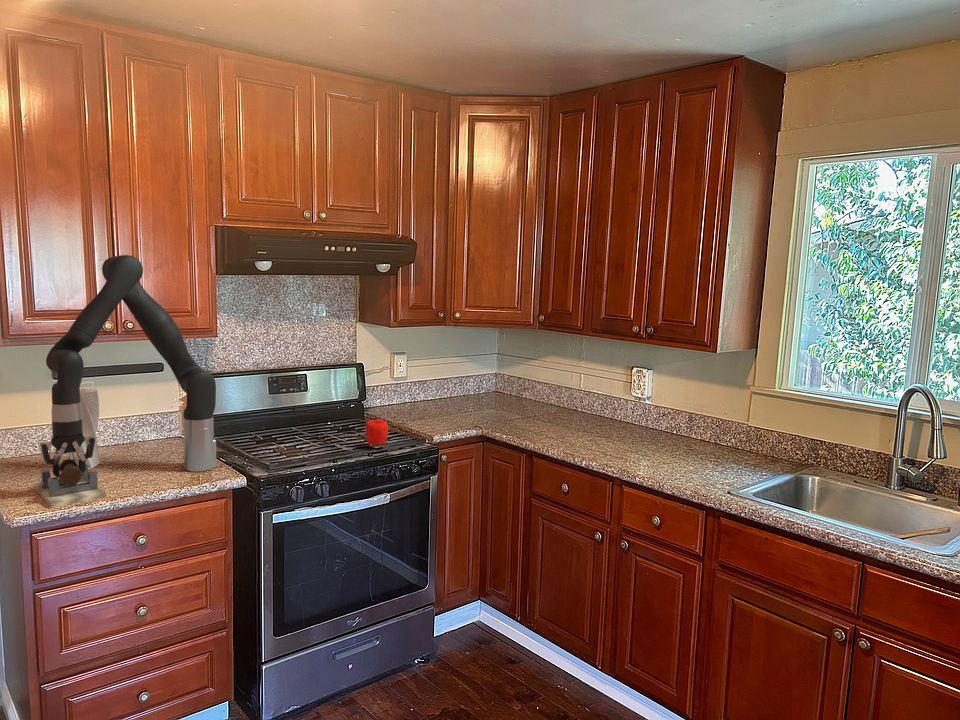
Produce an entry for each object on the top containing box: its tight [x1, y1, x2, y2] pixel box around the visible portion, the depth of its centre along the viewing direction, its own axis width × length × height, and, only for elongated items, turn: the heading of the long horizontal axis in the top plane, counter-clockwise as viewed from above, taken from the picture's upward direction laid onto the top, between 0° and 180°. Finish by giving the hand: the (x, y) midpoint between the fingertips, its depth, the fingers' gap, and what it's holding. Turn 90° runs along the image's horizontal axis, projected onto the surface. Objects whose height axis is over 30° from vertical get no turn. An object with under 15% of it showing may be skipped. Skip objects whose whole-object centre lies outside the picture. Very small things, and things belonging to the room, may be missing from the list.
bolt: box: [58, 458, 83, 485], centre depth 204 cm, size 6×5×15 cm
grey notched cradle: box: [40, 464, 99, 497], centre depth 205 cm, size 12×11×5 cm
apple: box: [364, 419, 389, 445], centre depth 268 cm, size 9×9×11 cm
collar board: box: [33, 482, 107, 508], centre depth 205 cm, size 14×20×2 cm
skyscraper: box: [67, 381, 101, 469], centre depth 229 cm, size 8×8×28 cm
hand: (69, 474), depth 204 cm, fingers closed on bolt, 5 cm apart
